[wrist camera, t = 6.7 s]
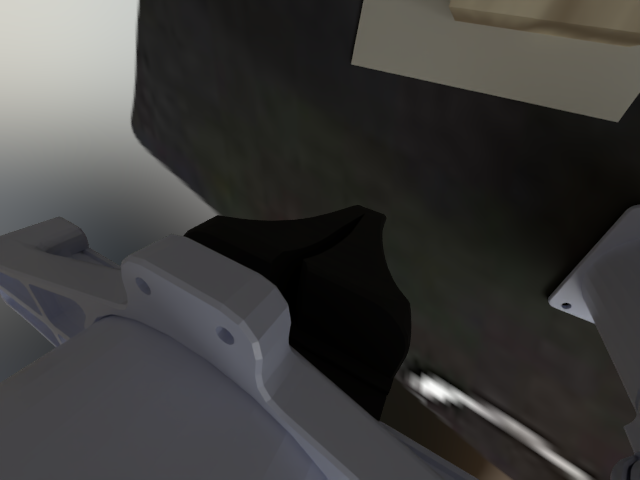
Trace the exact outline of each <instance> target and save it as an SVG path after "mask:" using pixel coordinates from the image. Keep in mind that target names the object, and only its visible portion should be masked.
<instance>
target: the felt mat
mask: <svg viewBox="0 0 640 480" xmlns="http://www.w3.org/2000/svg"><path fill="white" fill-rule="evenodd" d="M450 1H451V0H364V1H363V6H362V11H361V16H360V21H359V26H358V31H357V36H356V42H355V47H354V52H353V57H352V62H351V64H352V65H357V66H361V67H366V68H370V69H375V70H380V71H384V72H389V73H393V74H398V75H403V76H407V77H412V78H416V79H421V80H426V81H430V82H435V83H439V84H444V85H449V86H453V87H458V88H462V89H467V90H472V91H476V92H481V93H485V94H490V95H495V96H499V97H504V98H508V99H513V100H518V101H522V102H527V103H531V104H536V105H541V106H545V107H550V108H554V109H559V110H564V111H568V112H573V113H577V114H582V115H587V116H591V117H596V118H600V119H605V120H609V121H614V122H618V121H619V120H620V119H621V117H622V116H623V115H624V113H625V112H626V110H627V109H628V108H629V106H630V105H631V104H632V102H633V101H634V99H635V98H636V97H637V95H638V94H639V93H640V45H637V46H632V47H625V46H618V45H612V44H605V43H598V42H592V41H585V40H579V39H572V38H565V37H559V36H552V35H546V34H539V33H532V32H526V31H519V30H513V29H506V28H500V27H493V26H486V25H480V24H473V23H467V22H460V21H455V20H454V17H453V15H452V13H451V11H450V8H449V4H450Z"/></svg>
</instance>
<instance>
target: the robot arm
mask: <svg viewBox="0 0 640 480" xmlns="http://www.w3.org/2000/svg"><path fill="white" fill-rule="evenodd" d="M385 221H386V216H385V215H384V214H381V213H379V212H376V211H373V210H370V209H368V208H365V207H362V206H360V205H356V206H352V207H349V208H345V209H342V210H339V211H336V212H332V213H328V214H324V215H320V216H316V217H311V218H305V219H297V220H281V221H261V220H247V219H239V218H232V217H225V216H219V215H217V216H215V217H213V218H211V219H209V220H207V221H206V222H204V223H202V224H200V225H198V226H196V227H194V228H192V229H190V230H189V231H187V232H186V234H185V235H184V236H179V235H174V234H170V235H168V236H166V237H164V238H162V239H160V240H158V241H156V242H154V243H152V244H150V245H148V246H146V247H144V248H142V249H140V250H139V251H136V252H134V253H132V254H130V255H129V256H127V257H126V258H125V259H124V260H123V261H122V263H121V266H119V265H117V264H116V263H114V262H112V261H111V260H109V259H107V258H106V257H104V256H102V255H100V254H99V253H97V252H95V251H94V250H92V249H90V248H89V244H88V240H87V238H86V236H85V234H84V232H83V231H82V230H81V229H80V228H79V227H78V226H76V225H74V224H72V223H71V222H69V221H67V220H65V219H64V218H62V217H56V218H54V219H50V220H47V221H45V222H41V223H38V224H35V225H32V226H29V227H26V228H23V229H20V230H17V231H14V232H11V233H8V234H5V235H2V236H0V296H1V297H2V299H3V300H4V302H5V303H6V304H7V305H8V306H10V307H11V308H12V309H13V310H14V311H16V312H17V313H18V314H19V315H20V316H22V317H23V318H24V319H25V320H26V321H27V322H29V323H30V324H31V325H32V326H33V327H34V328H35V329H37V330H38V331H39V332H40V333H41V334H42V335H43V336H44V337H45V338H47V339H48V340H49V341H50V342H51V343H52V344H53V345H54V346H55V347H56V348H55V349H53V350H52V351H50V352H49V353H47V354H45V355H44V356H42V357H41V358H39V359H38V360H36V361H34V362H33V363H31V364H30V365H28V366H26V367H25V368H23V369H22V370H20V371H18V372H17V373H15V374H14V375H12V376H11V377H9V378H8V379H6V380H4V381H3V382H1V383H0V480H478V479H477V478H475V477H474V476H472V475H470V474H468V473H467V472H465V471H463V470H462V469H460V468H458V467H457V466H455V465H453V464H452V463H450V462H448V461H447V460H445V459H443V458H441V457H440V456H438V455H437V454H435V453H433V452H431V451H430V450H428V449H426V448H425V447H423V446H421V445H419V444H418V443H416V442H415V441H413V440H411V439H410V438H408V437H406V436H405V435H403V434H401V433H400V432H398V431H396V430H395V429H393V428H391V427H390V426H388V425H386V424H384V423H383V422H381V421H379V420H380V417H381V413H382V410H383V406H384V403H385V400H386V396H387V395H388V393H389V391H390V389H391V385H392V382H393V378H394V376H395V375H396V373H397V371H398V370H399V368H400V366H401V364H402V363H403V361H404V359H405V358H406V355H407V353H408V350H409V346H410V339H411V309H410V303H409V301H408V300H407V299H406V297H405V296H404V295H403V293H402V292H401V291H400V290H399V288H398V287H397V285H396V284H395V282H394V280H393V278H392V276H391V274H390V271H389V269H388V266H387V263H386V260H385V256H384V250H383V242H382V230H383V227H384V224H385ZM548 301H549V304H550V305H551V306H552V307H554V308H557V309H559V310H562V311H564V312H567V313H569V314H572V315H574V316H577V317H579V318H582V319H584V320H587V321H589V322H592V323H594V324H595V325H596V327H597V329H598V331H599V333H600V335H601V337H602V340H603V342H604V344H605V346H606V348H607V350H608V352H609V355H610V357H611V359H612V361H613V363H614V365H615V367H616V370H617V372H618V374H619V376H620V378H621V380H622V383H623V385H624V387H625V389H626V391H627V393H628V395H629V398H630V400H631V402H632V404H633V406H634V408H635V410H636V413H637V417H636V418H635V420H633V421H632V422H631V423H630V424H628V425H626V426H624V429H625V431H626V434H627V436H628V439H629V441H630V444H631V446H632V448H633V451H634V453H635V455H633V456H630V457H627V458H624V459H622V460H620V461H618V463H617V464H616V465H615V466H614V467H613V470H612V473H611V480H640V205H634V206H632V207H630V208H628V209H627V210H626V211H625V212H624V213H623V215H622V216H621V217H620V218H619V219H618V220H617V221H616V222H615V223H614V225H613V226H612V227H611V228H610V229H609V230H608V231H607V232H606V234H605V235H604V236H603V237H602V238H601V239H600V240H599V241H598V242H597V244H596V245H595V246H594V247H593V248H592V249H591V250H590V251H589V253H588V254H587V255H586V256H585V257H584V258H583V259H582V260H581V261H580V263H579V264H578V265H577V266H576V267H575V268H574V269H573V270H572V272H571V273H570V274H569V275H568V276H567V277H566V278H565V279H564V280H563V282H562V283H561V284H560V285H559V286H558V287H557V288H556V289H555V291H554V292H553V293H552V294H551V295H550V296H549V298H548ZM563 303H569V305H562V304H563Z"/></svg>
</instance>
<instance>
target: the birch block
mask: <svg viewBox="0 0 640 480" xmlns="http://www.w3.org/2000/svg"><path fill="white" fill-rule="evenodd" d="M449 8H450V11H451V13H452V15H453V17H454V20H455V21H460V22H467V23H473V24H480V25H486V26H493V27H500V28H506V29H513V30H519V31H526V32H532V33H539V34H546V35H552V36H559V37H565V38H572V39H579V40H585V41H592V42H598V43H605V44H612V45H618V46H625V47H632V46H637V45H640V0H451V1H450V4H449Z"/></svg>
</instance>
